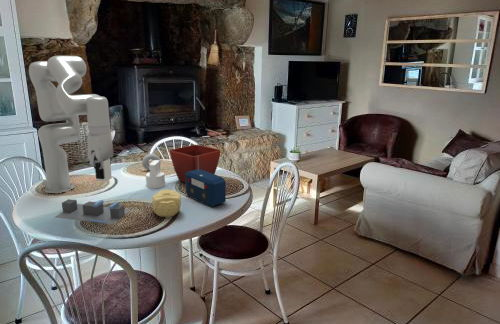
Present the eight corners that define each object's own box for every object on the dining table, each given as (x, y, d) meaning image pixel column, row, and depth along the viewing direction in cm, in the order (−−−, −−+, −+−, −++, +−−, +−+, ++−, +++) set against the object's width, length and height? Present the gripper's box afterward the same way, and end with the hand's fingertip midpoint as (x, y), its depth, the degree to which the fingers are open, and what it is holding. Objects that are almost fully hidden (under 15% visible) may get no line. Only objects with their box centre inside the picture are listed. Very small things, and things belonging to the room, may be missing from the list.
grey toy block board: (54, 220, 143) (52, 205, 142) (77, 206, 156) (76, 192, 155) (112, 227, 139) (111, 211, 137) (131, 213, 152) (130, 198, 150)
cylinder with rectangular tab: (162, 188, 180) (161, 165, 177) (144, 188, 181) (142, 164, 177) (166, 182, 189) (165, 160, 186) (149, 182, 189) (148, 159, 186)
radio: (183, 195, 172) (182, 154, 166) (198, 191, 178) (197, 151, 172) (211, 209, 158) (211, 164, 152) (227, 203, 164) (227, 161, 158)
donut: (143, 172, 205) (142, 155, 202) (142, 170, 208) (141, 153, 205) (161, 170, 208) (160, 153, 206) (160, 169, 211) (159, 152, 209)
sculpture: (153, 221, 145) (151, 196, 142) (152, 209, 156) (151, 185, 153) (182, 218, 148) (181, 193, 145) (179, 207, 159) (178, 183, 156)
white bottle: (96, 180, 140) (93, 155, 138) (102, 177, 144) (100, 152, 141) (105, 181, 139) (103, 156, 137) (111, 178, 143) (109, 153, 141)
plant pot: (196, 173, 206) (196, 143, 201) (221, 180, 194) (221, 149, 190) (169, 181, 192) (168, 149, 187) (194, 189, 180) (194, 156, 175)
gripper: (103, 125, 145) (107, 169, 150) (75, 133, 129) (81, 182, 134) (120, 126, 144) (124, 171, 149) (94, 135, 128) (99, 184, 133)
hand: (103, 176), depth 141 cm, fingers closed on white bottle, 4 cm apart
